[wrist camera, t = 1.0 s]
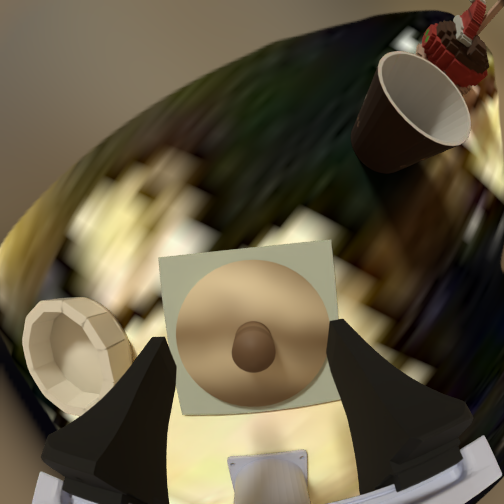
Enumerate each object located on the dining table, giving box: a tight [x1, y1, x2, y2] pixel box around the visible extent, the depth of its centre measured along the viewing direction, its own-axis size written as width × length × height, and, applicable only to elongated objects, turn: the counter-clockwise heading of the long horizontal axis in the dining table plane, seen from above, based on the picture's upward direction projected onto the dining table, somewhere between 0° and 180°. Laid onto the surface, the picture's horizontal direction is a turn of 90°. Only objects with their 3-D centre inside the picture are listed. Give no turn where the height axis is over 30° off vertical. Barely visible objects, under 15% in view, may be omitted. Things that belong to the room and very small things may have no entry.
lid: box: [176, 260, 329, 407], centre depth 21 cm, size 13×13×5 cm
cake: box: [416, 0, 504, 95], centre depth 16 cm, size 11×9×18 cm
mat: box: [158, 240, 340, 415], centre depth 23 cm, size 15×15×1 cm
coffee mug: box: [351, 51, 471, 174], centre depth 19 cm, size 12×9×10 cm
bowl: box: [22, 297, 133, 416], centre depth 21 cm, size 11×11×4 cm
